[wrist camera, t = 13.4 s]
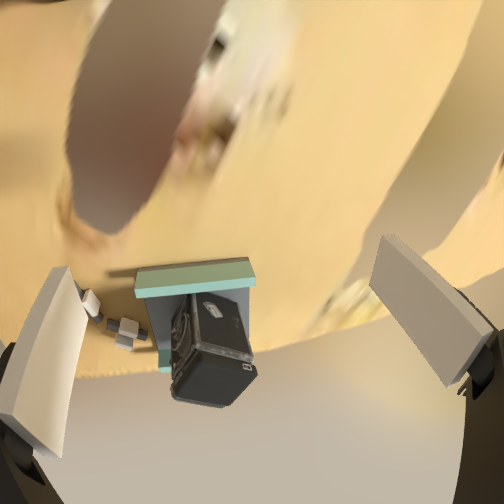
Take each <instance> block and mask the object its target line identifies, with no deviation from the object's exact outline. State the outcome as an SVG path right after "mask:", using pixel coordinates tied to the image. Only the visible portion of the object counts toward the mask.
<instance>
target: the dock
mask: <svg viewBox="0 0 504 504" xmlns="http://www.w3.org/2000/svg"><path fill="white" fill-rule="evenodd" d="M255 285H256V276H255V274H254V271H253V269H252V266H251V263H250V261H249V258H248V257H244V258H234V259H225V260H215V261H205V262H195V263H185V264H175V265H165V266H155V267H145V268H138V271H137V277H136V282H135V288H134V290H135V294H136V298H144V301H145V305H146V308H147V312H148V316H149V319H150V323H151V326H152V330H153V333H154V337H155V340H156V343H157V346H158V350H159V360H158V368H159V370H160V373H164V372H171V365H170V363H169V361H170V359H171V337H170V334H171V319H172V317H173V315H174V314H175V312H176V310H177V308H178V307H179V305H180V303H181V301H182V299H183V297H184V296H185V294H188V293H198V292H208V293H211V294H214V295H217V296H220V297H222V298H225V299H228V300H231V301H234V302H237V303H239V306H240V310H241V313H242V317H243V320H244V324H245V328H246V331H247V335H248V338H249V287H251V286H255ZM252 362H254V360H253V361H252Z"/></svg>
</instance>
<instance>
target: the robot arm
mask: <svg viewBox="0 0 504 504" xmlns="http://www.w3.org/2000/svg"><path fill="white" fill-rule="evenodd" d="M369 286H370V287H371V289H372V290H373V291H374V292H375V293H376V295H377V296H378V297H379V298H380V300H381V301H382V302H383V303H384V305H385V306H386V307H387V308H388V310H389V311H390V312H391V314H392V315H393V316H394V317H395V319H396V320H397V321H398V323H399V324H400V325H401V326H402V328H403V329H404V330H405V332H406V333H407V334H408V336H409V337H410V338H411V340H412V341H413V342H414V344H415V345H416V346H417V348H418V349H419V350H420V352H421V353H422V354H423V356H424V357H425V359H426V360H427V361H428V363H429V364H430V365H431V367H432V368H433V370H434V371H435V373H436V374H437V375H438V377H439V378H440V380H441V381H442V382H443V384H444V385H445V387H446V388H448V387H450V386H452V385H453V384H455V383H457V382H459V381H460V379H461V378H462V377H463V375H464V374H465V373H466V371H467V372H468V373H469V374H470V376H469V377H468V378H467V380H466V381H465V383H464V384H463V385H462V386H461V388H460V389H459V390H458V393H457V394H458V395H460V394H461V392H462V391H463V390H464V389H465V388H466V391H465V392H464V394H463V396H466V413H465V428H464V439H463V448H462V456H461V463H460V469H459V476H458V481H457V486H456V491H455V495H454V500H453V504H504V329H503V330H500V332H499V331H498V330H497V329H496V328H495V327H494V326H493V325H492V323H491V322H490V321H489V320H488V319H487V318H486V317H485V316H484V315H483V314H482V313H481V311H480V310H479V309H478V308H475V305H474V304H473V303H472V302H469V299H468V298H467V297H466V296H465V295H464V294H463V293H462V292H461V291H459V290H457V289H456V288H454V287H453V286H451V285H450V284H449V283H448V282H447V281H446V280H445V279H444V278H443V277H442V276H441V275H440V274H439V273H438V272H437V271H436V270H434V269H433V268H432V267H431V266H430V265H429V264H428V263H427V262H426V261H425V260H424V259H422V258H421V257H420V256H419V255H418V254H417V253H416V252H415V251H413V250H412V249H411V248H410V247H409V246H408V245H407V244H405V243H404V242H403V241H402V240H401V239H400V238H398V237H397V236H396V235H395V234H391V235H382V236H381V240H380V244H379V248H378V252H377V256H376V260H375V264H374V269H373V272H372V276H371V279H370V283H369ZM87 322H88V316H87V314H86V311H85V309H84V307H83V304H82V301H81V299H80V296H79V294H78V291H77V288H76V286H75V283H74V280H73V277H72V275H71V272H70V269H69V266H64V267H54V268H52V270H51V272H50V274H49V276H48V277H47V279H46V281H45V283H44V285H43V287H42V289H41V291H40V292H39V294H38V296H37V298H36V300H35V302H34V304H33V306H32V308H31V311H30V313H29V315H28V317H27V319H26V321H25V323H24V326H23V328H22V330H21V332H20V335H19V337H18V339H17V342H16V343H13V342H11V343H10V344H9V346H8V347H7V348H6V349H5V351H4V352H3V354H2V356H1V358H0V504H64V503H63V501H62V500H61V498H60V497H59V495H58V494H57V493H56V491H55V489H54V488H53V486H52V485H51V483H50V482H49V480H48V479H47V477H46V475H45V474H44V472H43V470H42V469H41V467H40V466H39V463H38V462H37V460H36V459H35V458H34V456H32V455H33V448H34V449H35V450H37V452H39V453H40V454H41V455H43V456H47V457H53V458H59V459H62V452H63V443H64V434H65V427H66V420H67V413H68V406H69V401H70V395H71V390H72V385H73V380H74V375H75V370H76V366H77V362H78V357H79V353H80V349H81V345H82V341H83V337H84V333H85V330H86V326H87Z"/></svg>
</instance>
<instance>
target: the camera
mask: <svg viewBox="0 0 504 504" xmlns="http://www.w3.org/2000/svg"><path fill="white" fill-rule="evenodd" d="M170 337H171V359H170V361H169V363H170V365H171V374H172V380H174V381H173V383H172V384H171V387H170V391H171V395H172V397H173V398H174V399H175V400H176V401H180V402H185V403H191V404H196V405H202V406H208V407H215V408H223V407H225V406H229V405H231V404H232V403H233V402H234V400H236V399H237V397H238V396H239V395H240V394H241V393H242V392H243V391H244V390H245V389H246V388H247V387H248V385H249V384H250V383H251V382H252V381H253V380H254V379H255V378H256V377H257V375H258V373H257V370H256V367H255V366H254V365H252V361H253V360H254V356H253V352H252V349H251V345H250V342H249V338H248V335H247V331H246V328H245V324H244V320H243V317H242V313H241V310H240V306H239V303H237V302H234V301H231V300H228V299H225V298H222V297H220V296H217V295H214V294H211V293H208V292H198V293H188V294H185V296H184V297H183V299H182V301H181V303H180V305H179V307H178V308H177V310H176V312H175V314H174V315H173V317H172V319H171V334H170Z"/></svg>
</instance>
